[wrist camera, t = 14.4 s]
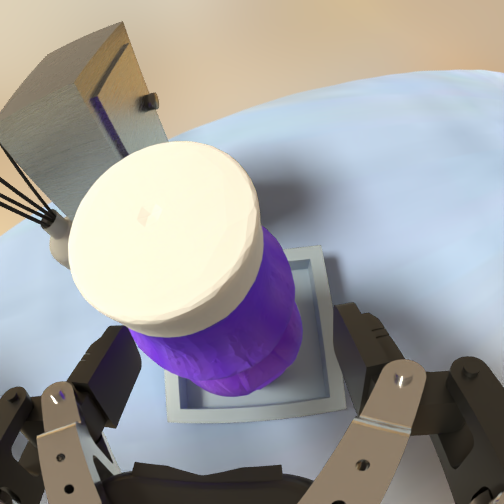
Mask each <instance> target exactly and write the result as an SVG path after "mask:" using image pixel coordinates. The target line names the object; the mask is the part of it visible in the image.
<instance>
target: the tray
mask: <svg viewBox="0 0 504 504" xmlns="http://www.w3.org/2000/svg"><path fill="white" fill-rule="evenodd" d="M283 251H284V253H285V255H286V257H287V260H288V262H289V265H290V267H291V272H292V275H293V280H294V284H295V302H296V304H297V306H298V309H299V312H300V315H301V321H302V327H303V336H302V342H301V346H300V349H299V353H298V355H297V358H296V360H295V361H294V363H293V364H292V365H291V366H290V367H288V368H287V369H286V370H285V371H284V373H283V374H282V375H281V376H279V377H278V378H277V379H275V380H274V381H273V382H271V383H270V384H268V385H267V386H266V387H264V388H262V389H261V390H256V391H254V392H252V393H250V394H249V395H246V396H238V397H224V396H219V395H215V394H212V393H209V392H208V391H206V390H204V389H202V388H201V387H199V386H197V385H196V384H195V383H193V382H192V381H191V380H190V379H187V378H183V377H180V376H178V375H176V374H173V373H171V372H169V371H167V370H166V369H164V372H165V392H166V407H167V420H168V422H171V423H236V422H253V421H266V420H277V419H286V418H294V417H302V416H309V415H315V414H322V413H327V412H333V411H338V410H344V409H346V400H345V390H344V382H343V374H342V371H341V369H340V366H339V363H338V361H337V358H336V355H335V352H334V347H333V306H332V300H331V295H330V289H329V284H328V278H327V273H326V268H325V263H324V257H323V253H322V248H321V245H318V246H309V247H300V248H292V249H283Z"/></svg>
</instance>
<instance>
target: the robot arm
mask: <svg viewBox="0 0 504 504" xmlns="http://www.w3.org/2000/svg"><path fill="white" fill-rule="evenodd" d="M333 347H334V352H335V355H336V358H337V361H338V363H339V366H340V369H341V371H342V374H343V377H344V380H345V382H346V385H347V388H348V391H349V393H350V396H351V399H352V402H353V405H354V407H355V410H356V413H357V416H358V417H357V416H356V417H355V418H354V419H353V421H352V422H351V424H350V426H349V427H348V429H347V431H346V433H345V434H344V436H343V438H342V439H341V441H340V443H339V444H338V446H337V447H336V449H335V451H334V452H333V454H332V455H331V457H330V459H329V460H328V462H327V463H326V465H325V466H324V468H323V469H322V471H321V472H320V473H319V475H318V476H317V478H316V479H315V481H312V480H310V479H307V478H304V477H300V476H295V475H290V474H283V473H282V466H281V465H273V466H261V467H243V468H238V469H234V470H230V471H225V472H221V473H216V474H210V475H204V476H203V475H197V474H193V473H189V472H186V471H182V470H179V469H176V468H173V467H169V466H164V465H155V464H146V463H139V462H135V463H134V467H133V470H132V471H129V472H123V473H122V472H121V470H120V469H119V467H118V464H117V462H116V460H115V458H114V455H113V453H112V451H111V448H110V446H109V443H108V441H107V438H106V436H105V434H104V433H103V432H102V431H103V429H104V427H109V428H116V427H117V425H118V422H119V420H120V418H121V415H122V413H123V410H124V408H125V405H126V403H127V401H128V398H129V396H130V393H131V391H132V389H133V386H134V384H135V382H136V379H137V377H138V375H139V373H140V370H141V357H140V354H139V351H138V349H137V346H136V344H135V341H134V339H133V337H132V335H131V333H130V331H129V329H128V327H126V326H124V325H121V326H109V327H108V328H107V329H106V331H105V332H104V334H103V335H102V337H101V338H99V339H98V340H97V341H95V342H94V343H93V344H92V345H91V346H90V347H89V349H88V350H87V351H86V354H84V356H83V357H82V359H81V361H80V362H79V363H78V365H77V366H76V367H75V369H74V370H73V372H72V373H71V375H70V376H69V378H68V379H67V381H66V382H63V381H62V382H56V383H54V384H52V385H50V386H49V387H47V388H46V389H45V391H44V392H43V394H42V396H38V397H30V396H29V395H28V393H27V392H26V390H25V389H24V388H23V387H14V388H11V389H9V390H8V391H7V392H6V393H5V394H4V395H3V396H2V398H1V399H0V504H40V501H41V498H42V495H43V493H44V490H46V495H47V499H48V503H49V504H380V503H381V501H382V499H383V497H384V495H385V493H386V491H387V489H388V487H389V485H390V482H391V480H392V478H393V476H394V474H395V471H396V469H397V467H398V465H399V462H400V460H401V457H402V455H403V452H404V450H405V447H406V445H407V442H408V439H409V436H415V435H430V437H431V439H432V442H433V444H434V447H435V449H436V452H437V454H438V457H439V459H440V462H441V464H442V467H443V470H444V472H445V475H446V478H447V481H448V483H449V486H450V489H451V492H452V495H453V498H454V501H455V504H504V388H503V386H502V385H501V383H500V382H499V381H498V379H497V378H496V377H495V375H494V374H493V373H492V371H491V370H490V369H489V367H488V366H487V365H486V364H485V363H484V362H483V361H482V360H480V359H478V358H475V357H469V356H467V357H461V358H458V359H457V360H455V361H454V362H453V364H452V366H451V368H450V371H441V372H425V370H424V368H423V367H422V366H421V365H420V364H418V363H416V362H414V361H411V360H405V358H404V356H403V355H402V353H401V352H400V350H399V349H398V347H397V346H396V344H395V343H394V341H393V340H392V338H391V337H390V336H389V334H388V332H387V331H386V329H384V326H383V325H382V323H381V322H380V320H379V319H378V318H376V317H375V316H373V315H372V314H370V313H364V314H361V312H360V311H359V309H358V308H357V306H356V304H355V303H354V302H351V303H345V304H339V305H334V308H333ZM20 431H21V432H22V434H23V435H24V436H25V437H26V438H27V439H28V440H29V441H28V443H27V445H26V447H25V449H24V452H23V454H22V456H21V458H20V460H19V462H17V461H16V460H15V459H14V457H13V456H12V453H11V447H12V445H13V443H14V441H15V439H16V437H17V435H18V433H19V432H20Z"/></svg>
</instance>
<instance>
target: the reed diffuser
mask: <svg viewBox="0 0 504 504" xmlns="http://www.w3.org/2000/svg"><path fill="white" fill-rule="evenodd" d="M0 146H1V148H2V149H3V150H4V152H5V154H6V155H7V157H8V158H9V159H10V161H11V162H12V164H13V165H14V167H15V168H16V169H17V171H18V172H19V174H20V175H21V176H22V178H23V179H24V181H25V182H26V183H27V184H28V186H29V187H30V189H31V190H32V191H33V192H34V194H35V195H36V196H37V197H38V199H39V200H40V201H41V203H42V204H43V205H44V206H45V208H46V209H47V210H48V211H46V210H45V209H43V208H42V207H40V206H39V205H37V204H36V203H34V202H33V201H32V200H30V199H29V198H28V197H26V196H25V195H24V194H22V193H21V192H19V191H18V190H17V189H15V188H14V187H13V186H11V185H10V184H9V183H7V182H6V181H5V180H4V179H2V178H1V177H0V182H1V183H2V184H4V185H5V186H6V187H8V188H9V189H11V190H12V191H13V192H15V193H16V194H17V195H19V196H20V197H21V198H23V199H24V200H26V201H27V202H29V203H30V204H31V205H33V206H34V207H36V208H37V209H39V210H40V211H41V212H43V213H44V214H45V215H43V214H41V213H39V212H37V211H34V210H33V209H30V208H29V207H26V206H24V205H22V204H21V203H19V202H17V201H15V200H13V199H11V198H9V197H7V196H5V195H3V194H1V193H0V197H1V198H3V199H5V200H7V201H9V202H11V203H13V204H15V205H17V206H19V207H21V208H23V209H25V210H27V211H29V212H31V213H33V214H35V215H37V216H39V217H42V220H41V221H40V220H38V219H36V218H34V217H32V216H29V215H27V214H25V213H23V212H21V211H19V210H17V209H15V208H13V207H11V206H8V205H7V204H4V203H2V202H0V206H2V207H4V208H6V209H8V210H10V211H12V212H15V213H16V214H19V215H21V216H23V217H25V218H27V219H29V220H32V221H34V222H36V223H38V224H41V227H42V228H43V229H44V230H45V231H46V232H47V233H48V234H49V235H50V236H51V237H50V251H51V254H52V255H53V257H54V258H55V259H56V260H57V261H58V262H59V263H60V264H62V265H63V266H65V267H66V268H68V269H70V265H69V256H68V241H69V235H70V231H71V227H72V223H73V222H72V221H71V220H70V219H69V218H68V217H67V216H66V217H65V218H63V217H62V216H61V215H60V214H59V213H58V212H57V211H56V210H54V209H50V208H49V206H48V205H47V204H46V203H45V201H44V200H43V199H42V198H41V196H40V195H39V194H38V193H37V191H36V190H35V189H34V187H33V186H32V184H31V183H30V182H29V180H28V179H27V178H26V176H25V175H24V174H23V172H22V171H21V170H20V168H19V167H18V165H17V164H16V162H15V161H14V159H13V158H12V157H11V156H10V154H9V153H8V152H7V151H6V150H5V148H4V147H3V146H2V145H1V143H0ZM70 270H71V269H70Z"/></svg>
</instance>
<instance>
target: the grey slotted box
mask: <svg viewBox="0 0 504 504" xmlns="http://www.w3.org/2000/svg"><path fill="white" fill-rule="evenodd" d="M158 108H159V100H158V96H157V94H156V93H151V94H149V91H148V89H147V86H146V83H145V81H144V78H143V76H142V73H141V70H140V68H139V65H138V62H137V59H136V57H135V54H134V51H133V48H132V46H131V43H130V40H129V37H128V35H127V32H126V29H125V26H124V23H123V21H122V22H119V23H116V24H113V25H111V26H109V27H106V28H103V29H101V30H98V31H96V32H93V33H91V34H89V35H86V36H84V37H82V38H80V39H78V40H75V41H73V42H71V43H69V44H67V45H65V46H63V47H61V48H59V49H57V50H55V51H53V52H52V53H50V54H48V55H47V56H46V57H45V58H44V59H43V60H42V61H41V62H40V63H39V64H38V65H37V67H36V68H35V69H34V70H33V71H32V72H31V74H30V75H29V76H28V77H27V78H26V79H25V81H24V82H23V83H22V84H21V86H20V87H19V88H18V89H17V90H16V92H15V93H14V94H13V96H12V97H11V98H10V99H9V101H8V102H7V104H6V105H5V106H4V108H3V109H2V110H1V112H0V143H1V145H2V146H3V147H4V148H5V150H6V151H7V152H8V153H9V154H10V156H11V157H12V158H13V159H14V160H15V161H16V163H17V164H18V165H19V166H20V167H21V168H22V169H23V171H24V172H25V173H26V174H27V175H28V176H29V177H30V178H31V179H32V181H33V182H34V183H35V184H36V185H37V186H38V187H39V188H40V189H41V190H42V191H43V192H44V193H45V194H46V195H47V197H49V198H50V200H51V201H52V202H53V203H54V204H55V205H56V206H57V207H58V208H59V209H60V210H61V211H62V212H63V213H64V214H65V215H66V216H67V217H68V218H69V219H70V220H71V221H72V222H73V220H74V217H75V215H76V212H77V210H78V207H79V205H80V203H81V201H82V200H83V198H84V197H85V195H86V194H87V192H88V191H89V190H90V188H91V187H92V186H93V184H94V183H95V182H96V181H97V180H98V179H99V177H100V176H102V175H103V174H104V173H105V172H106V171H107V170H108V169H109V168H110V167H112V166H113V165H115V164H116V163H118V162H119V161H121V160H122V159H124V158H125V157H127V156H129V155H130V154H132V153H134V152H136V151H139V150H141V149H144V148H146V147H149V146H152V145H156V144H160V143H166V142H168V139H167V137H166V134H165V132H164V129H163V127H162V124H161V122H160V119H159V117H158V114H157V112H156V109H158Z"/></svg>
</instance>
